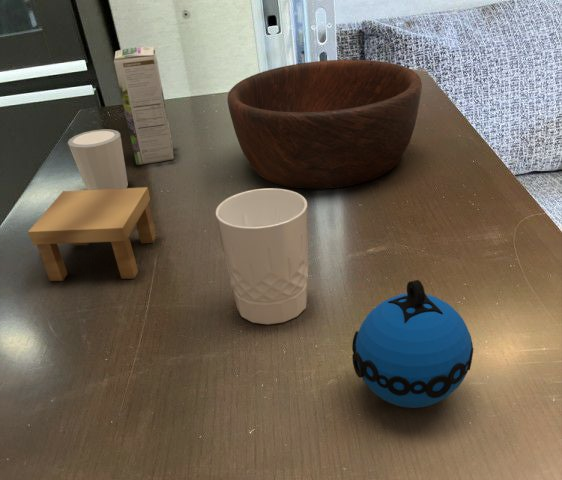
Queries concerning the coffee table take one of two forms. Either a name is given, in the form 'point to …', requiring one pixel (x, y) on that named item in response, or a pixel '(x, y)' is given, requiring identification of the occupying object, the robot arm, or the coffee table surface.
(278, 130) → the wooden bowl
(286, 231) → the white cup
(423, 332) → the ornament
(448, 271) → the coffee table surface
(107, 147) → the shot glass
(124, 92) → the syrup box
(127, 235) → the stand
